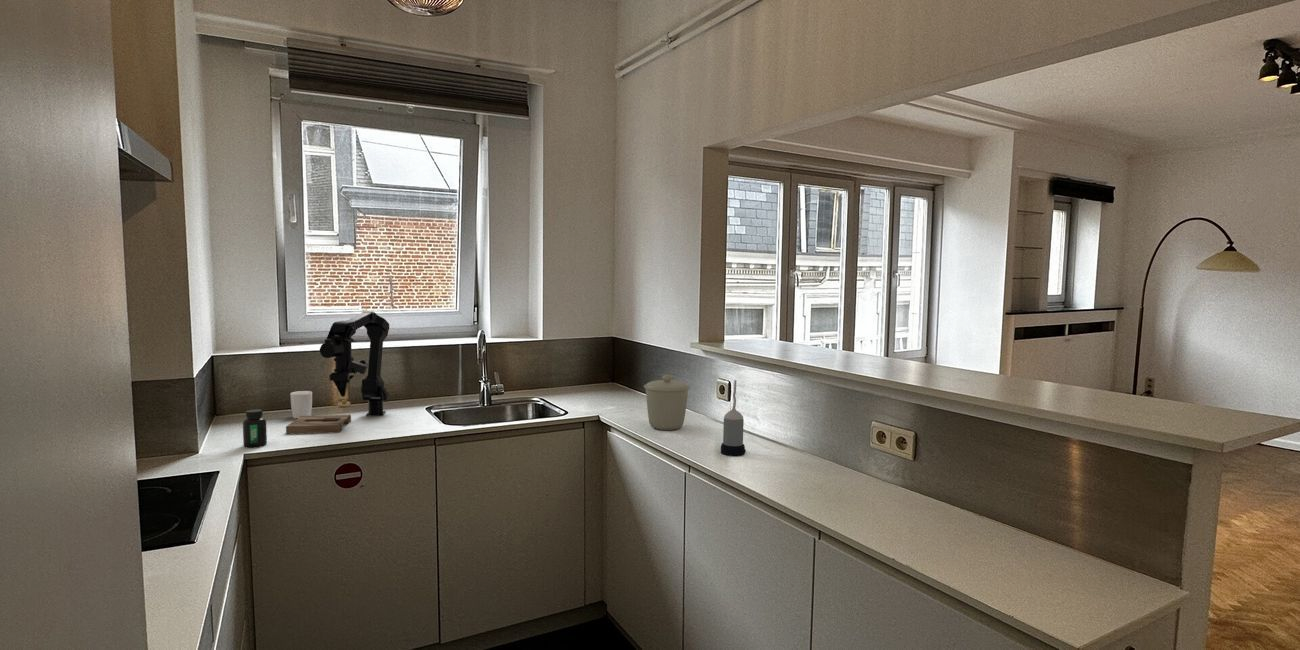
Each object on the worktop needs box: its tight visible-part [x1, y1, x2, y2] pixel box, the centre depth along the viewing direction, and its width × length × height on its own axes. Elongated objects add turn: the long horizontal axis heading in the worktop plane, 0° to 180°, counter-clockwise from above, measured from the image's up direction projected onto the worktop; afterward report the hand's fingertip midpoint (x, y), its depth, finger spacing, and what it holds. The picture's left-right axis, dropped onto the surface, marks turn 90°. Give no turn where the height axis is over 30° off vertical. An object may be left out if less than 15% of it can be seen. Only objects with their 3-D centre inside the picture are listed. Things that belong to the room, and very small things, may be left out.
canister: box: [643, 373, 691, 431], centre depth 257 cm, size 18×18×21 cm
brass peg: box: [337, 382, 352, 409], centre depth 249 cm, size 4×4×9 cm
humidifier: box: [720, 379, 747, 457], centre depth 221 cm, size 8×8×25 cm
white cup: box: [289, 390, 313, 419], centre depth 265 cm, size 8×8×10 cm
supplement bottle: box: [242, 408, 268, 449], centre depth 222 cm, size 7×7×12 cm
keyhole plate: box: [285, 413, 352, 435], centre depth 249 cm, size 18×18×3 cm
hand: (344, 395), depth 249 cm, fingers closed on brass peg, 3 cm apart
